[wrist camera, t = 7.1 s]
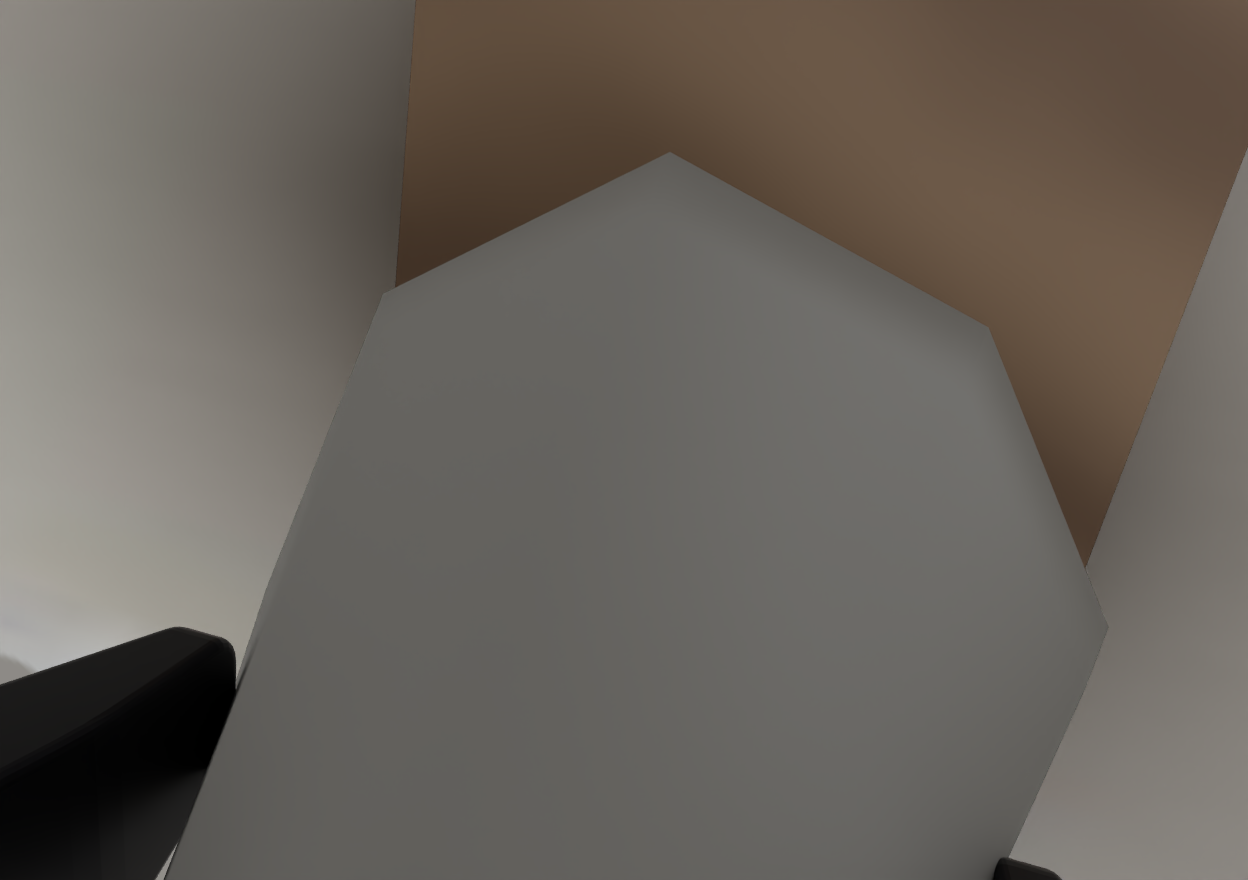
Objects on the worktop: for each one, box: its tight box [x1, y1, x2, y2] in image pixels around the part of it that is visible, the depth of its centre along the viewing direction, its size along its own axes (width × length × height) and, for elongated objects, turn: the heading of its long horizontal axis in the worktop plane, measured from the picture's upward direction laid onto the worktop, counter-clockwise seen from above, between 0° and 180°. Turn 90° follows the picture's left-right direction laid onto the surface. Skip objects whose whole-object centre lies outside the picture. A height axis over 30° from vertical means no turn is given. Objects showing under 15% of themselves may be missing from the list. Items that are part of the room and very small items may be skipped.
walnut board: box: [395, 0, 1248, 568], centre depth 18 cm, size 18×12×1 cm, turn 171°
